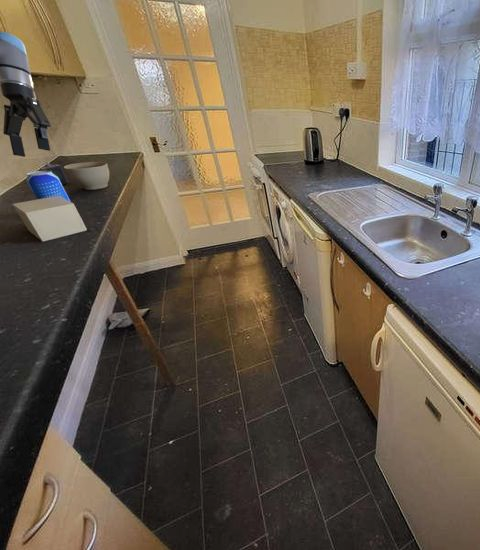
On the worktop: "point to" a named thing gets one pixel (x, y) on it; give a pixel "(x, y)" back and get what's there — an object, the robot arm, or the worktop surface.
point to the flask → (56, 172)
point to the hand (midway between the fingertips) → (31, 152)
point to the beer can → (45, 185)
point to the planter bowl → (89, 174)
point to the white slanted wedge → (50, 217)
